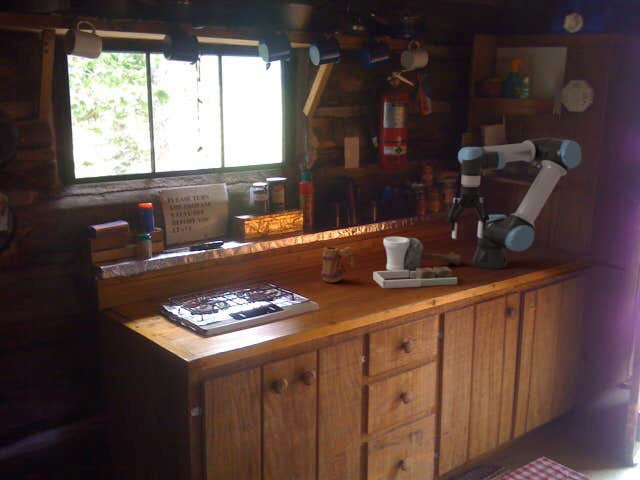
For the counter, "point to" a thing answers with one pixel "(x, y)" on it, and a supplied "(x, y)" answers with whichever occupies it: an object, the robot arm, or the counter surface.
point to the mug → (336, 263)
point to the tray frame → (382, 275)
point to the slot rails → (434, 280)
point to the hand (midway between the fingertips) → (466, 237)
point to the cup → (396, 252)
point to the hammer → (425, 255)
